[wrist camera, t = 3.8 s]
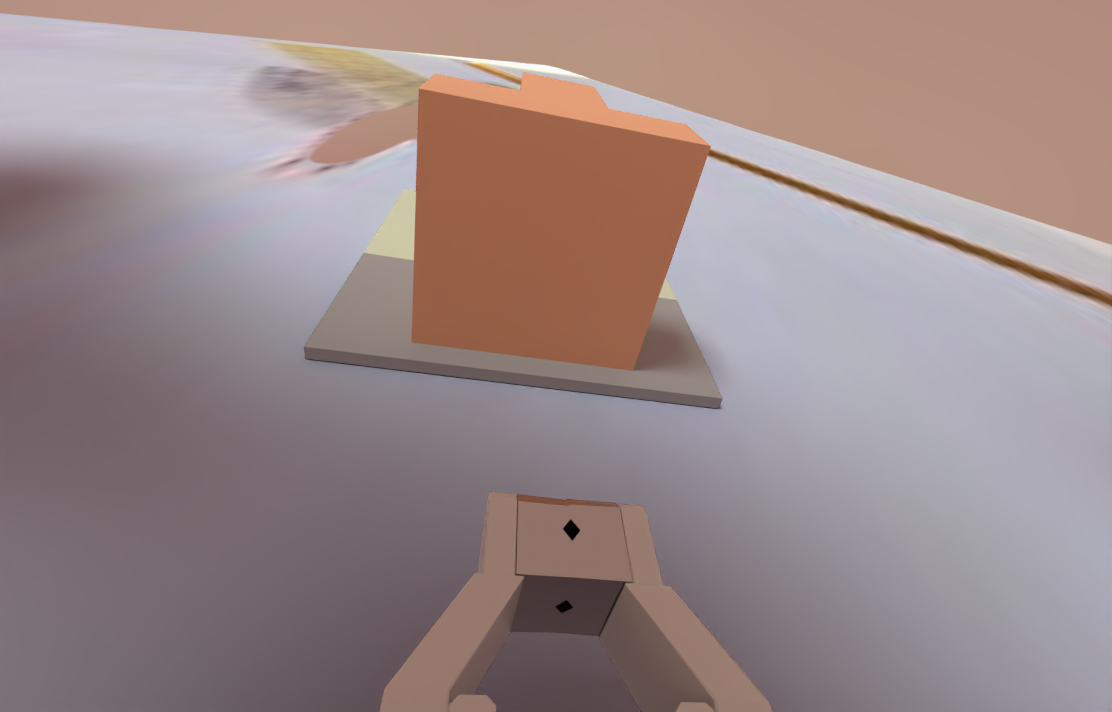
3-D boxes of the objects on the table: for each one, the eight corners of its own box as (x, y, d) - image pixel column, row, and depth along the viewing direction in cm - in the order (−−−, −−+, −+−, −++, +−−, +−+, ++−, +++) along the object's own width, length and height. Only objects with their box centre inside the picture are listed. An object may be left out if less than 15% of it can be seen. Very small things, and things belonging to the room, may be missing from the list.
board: (305, 358, 21) (304, 346, 20) (404, 196, 37) (404, 188, 37) (717, 408, 23) (722, 398, 23) (641, 236, 40) (643, 229, 39)
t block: (411, 342, 22) (418, 88, 16) (441, 254, 29) (453, 57, 24) (633, 370, 23) (710, 146, 18) (608, 280, 31) (658, 100, 25)
